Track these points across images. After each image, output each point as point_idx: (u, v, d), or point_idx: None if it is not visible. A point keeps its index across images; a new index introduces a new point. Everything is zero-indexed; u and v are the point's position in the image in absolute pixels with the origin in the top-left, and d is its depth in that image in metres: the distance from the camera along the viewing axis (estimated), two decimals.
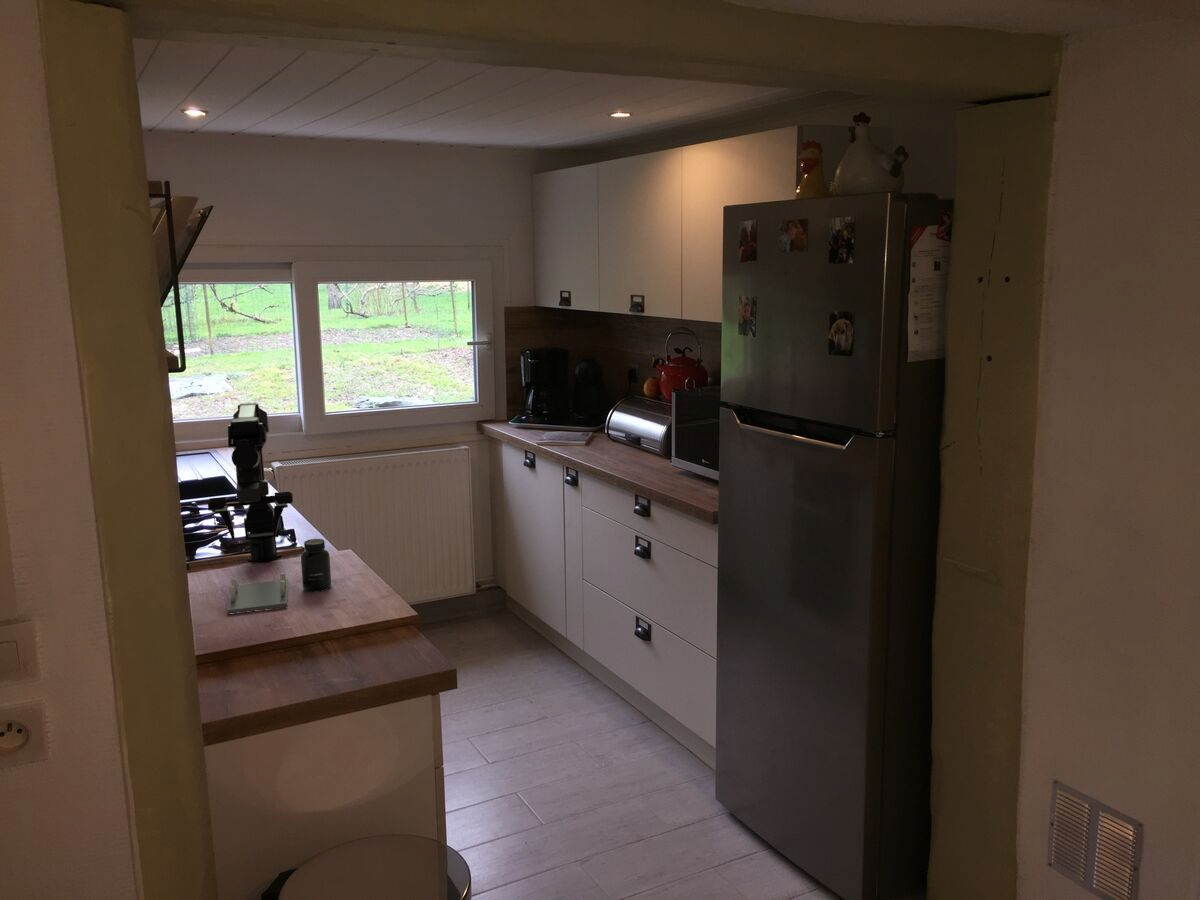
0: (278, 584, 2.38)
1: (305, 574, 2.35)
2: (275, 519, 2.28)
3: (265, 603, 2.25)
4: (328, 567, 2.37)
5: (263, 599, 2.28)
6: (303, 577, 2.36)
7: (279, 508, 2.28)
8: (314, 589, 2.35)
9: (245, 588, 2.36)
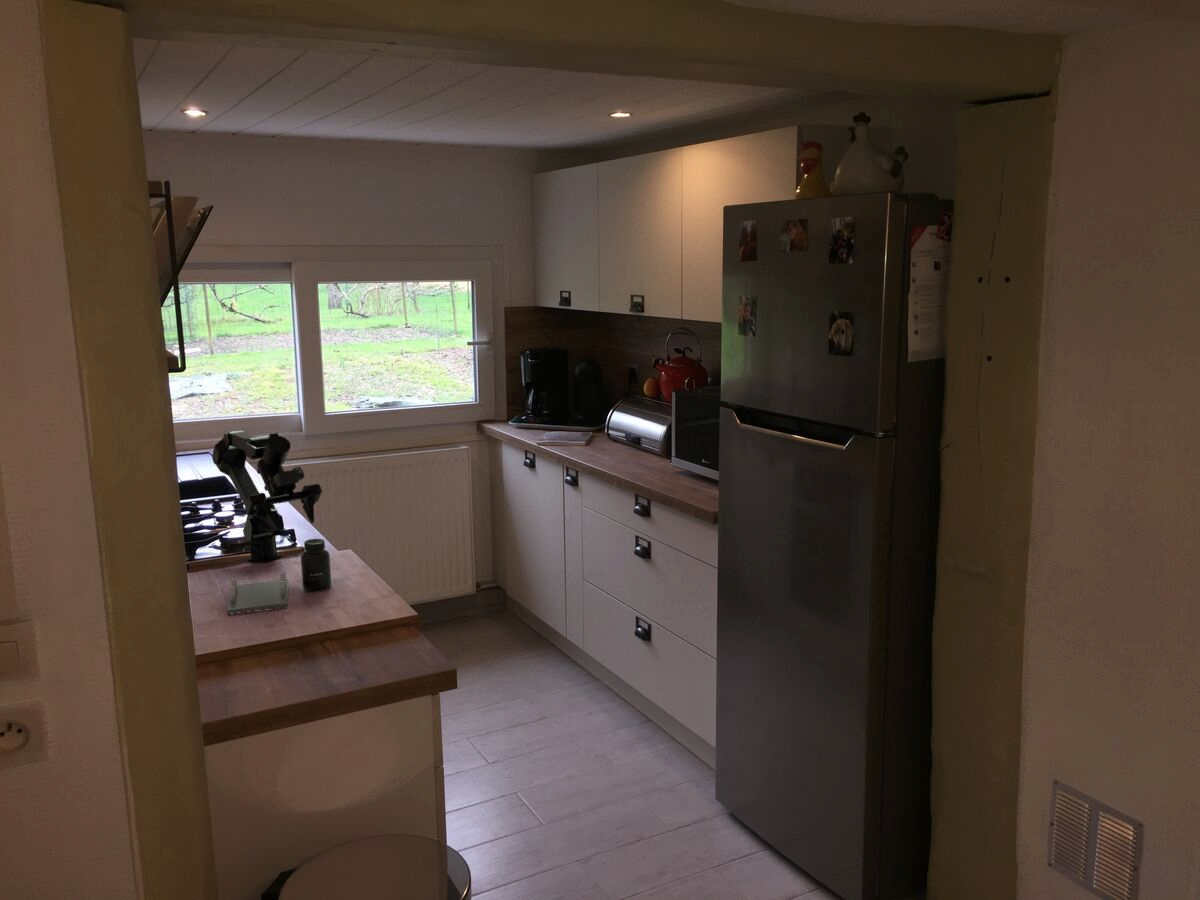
0: (278, 584, 2.38)
1: (305, 574, 2.35)
2: (310, 507, 2.48)
3: (265, 603, 2.25)
4: (328, 567, 2.37)
5: (263, 599, 2.28)
6: (303, 577, 2.36)
7: (312, 495, 2.48)
8: (314, 589, 2.35)
9: (245, 588, 2.36)
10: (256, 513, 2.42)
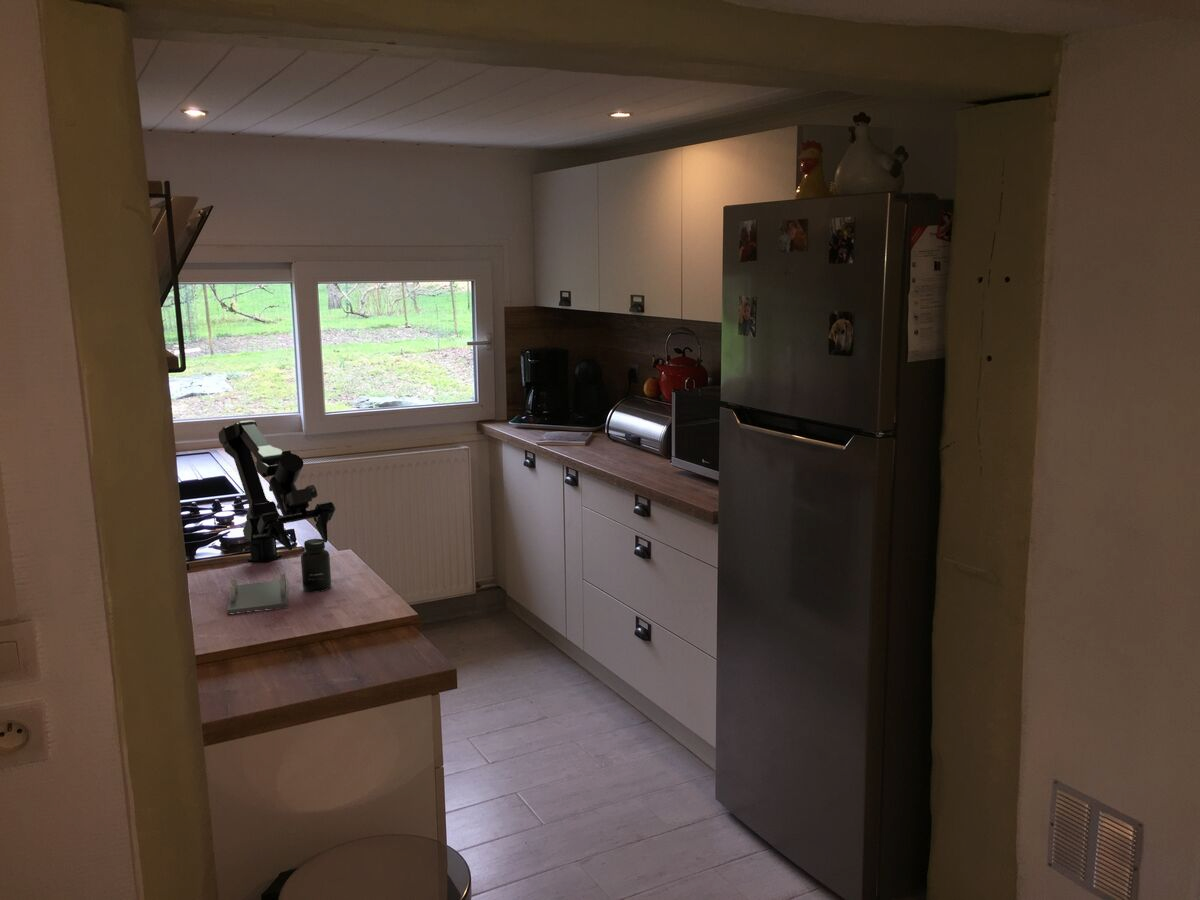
0: (278, 584, 2.38)
1: (305, 574, 2.35)
2: (323, 526, 2.43)
3: (265, 603, 2.25)
4: (328, 567, 2.37)
5: (263, 599, 2.28)
6: (303, 577, 2.36)
7: (325, 514, 2.44)
8: (314, 589, 2.35)
9: (245, 588, 2.36)
10: (269, 532, 2.38)
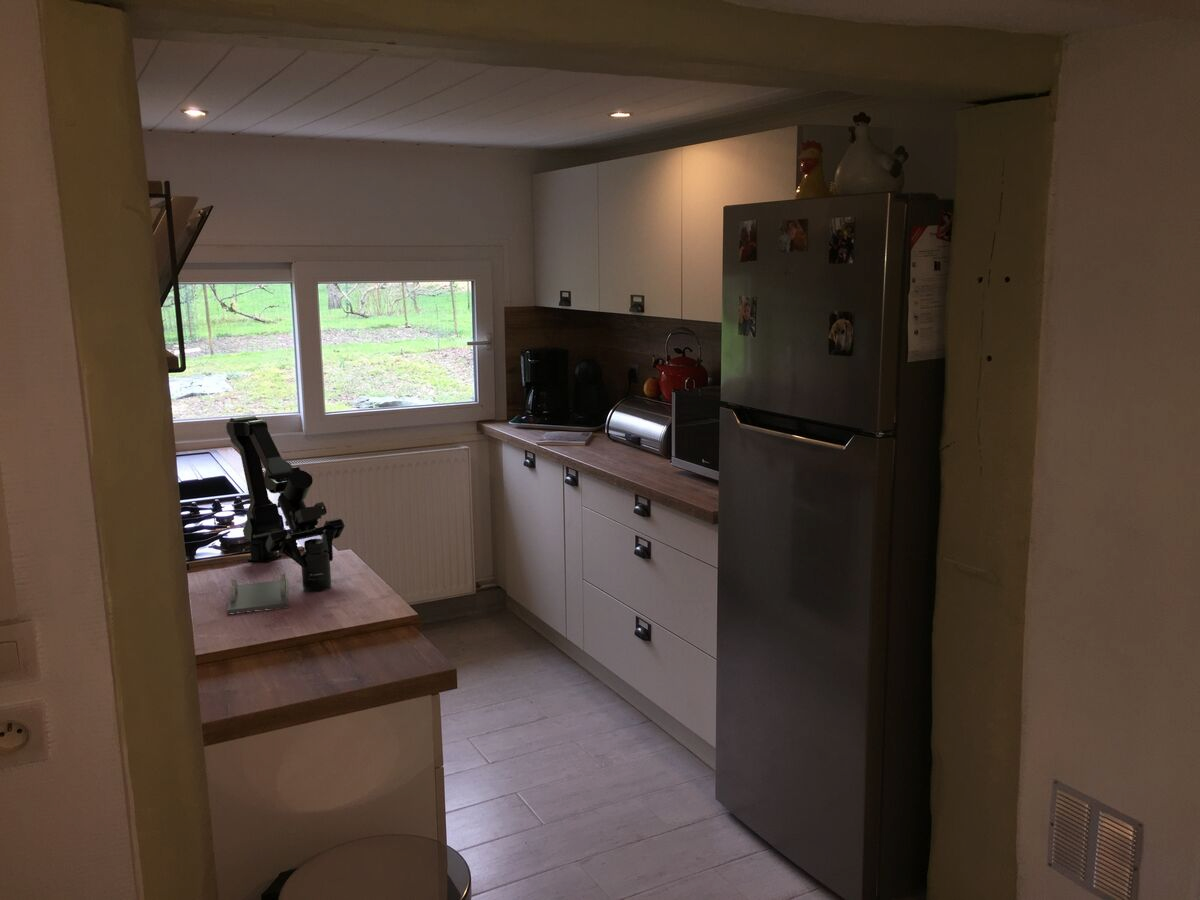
0: (278, 584, 2.38)
1: (305, 574, 2.35)
2: (329, 544, 2.40)
3: (265, 603, 2.25)
4: (328, 567, 2.37)
5: (263, 599, 2.28)
6: (303, 577, 2.36)
7: (331, 532, 2.41)
8: (314, 589, 2.35)
9: (245, 588, 2.36)
10: (282, 549, 2.36)
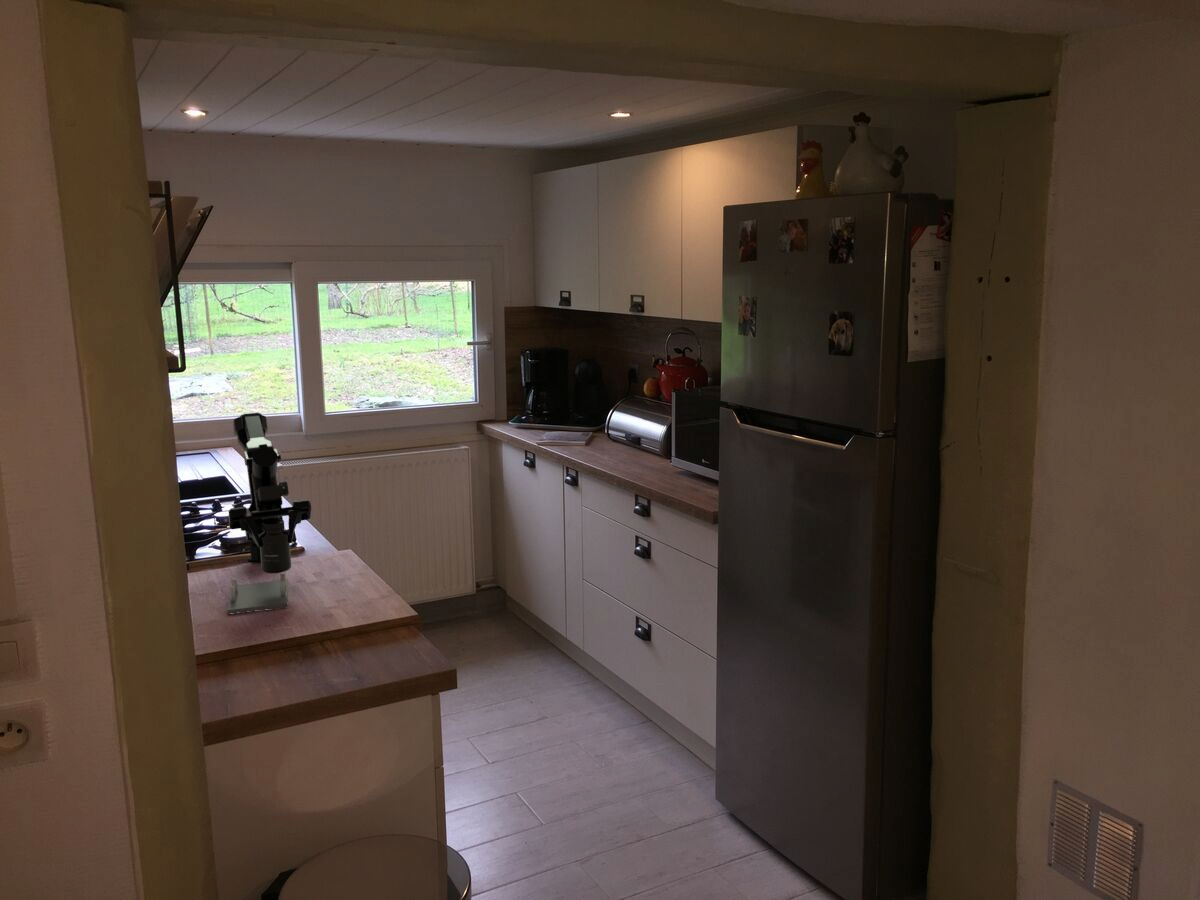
0: (278, 584, 2.38)
1: (261, 554, 2.29)
2: (290, 525, 2.32)
3: (265, 603, 2.25)
4: (285, 549, 2.30)
5: (263, 599, 2.28)
6: (261, 557, 2.30)
7: (294, 513, 2.33)
8: (269, 570, 2.29)
9: (245, 588, 2.36)
10: (242, 527, 2.31)
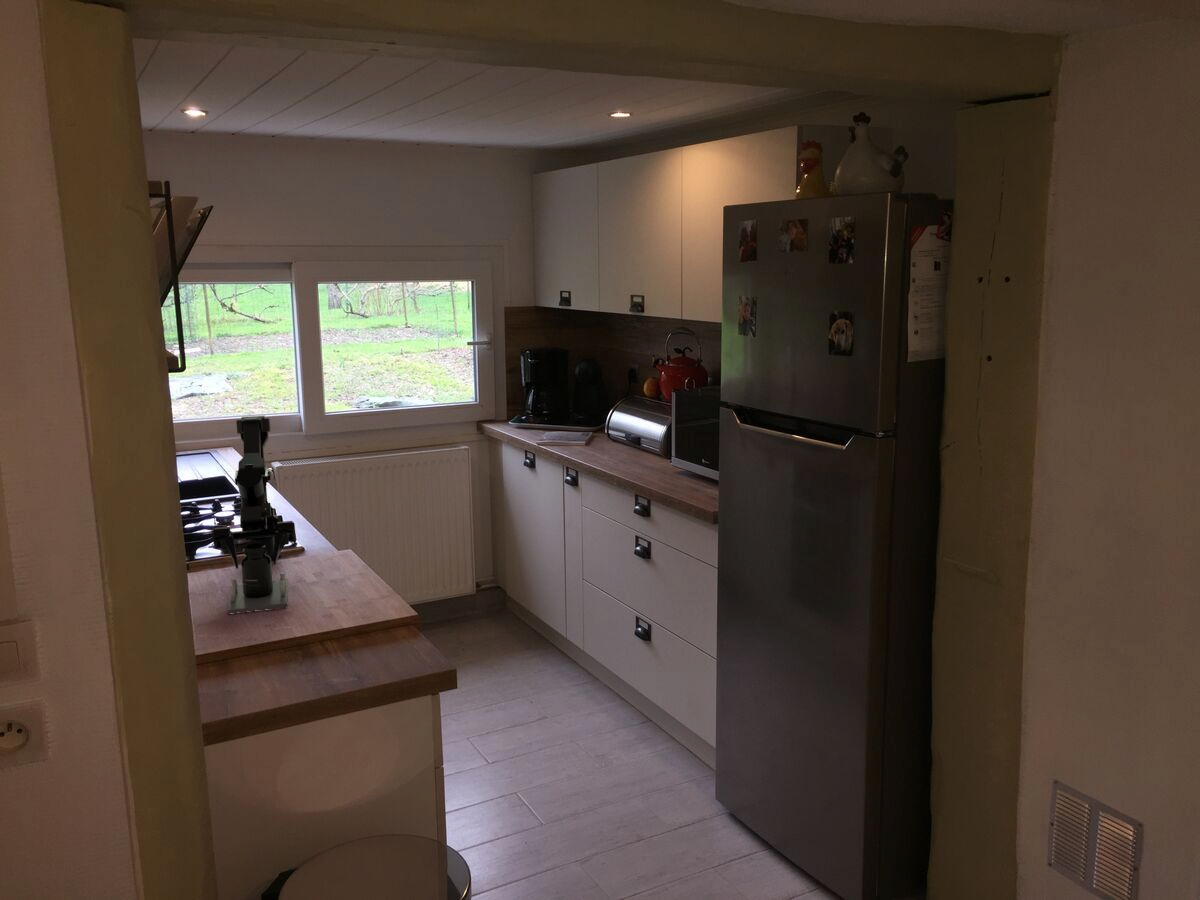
0: (278, 584, 2.38)
1: (242, 578, 2.29)
2: (275, 547, 2.31)
3: (265, 603, 2.25)
4: (265, 574, 2.29)
5: (263, 599, 2.28)
6: None
7: (279, 534, 2.32)
8: (249, 595, 2.29)
9: None
10: (223, 547, 2.31)
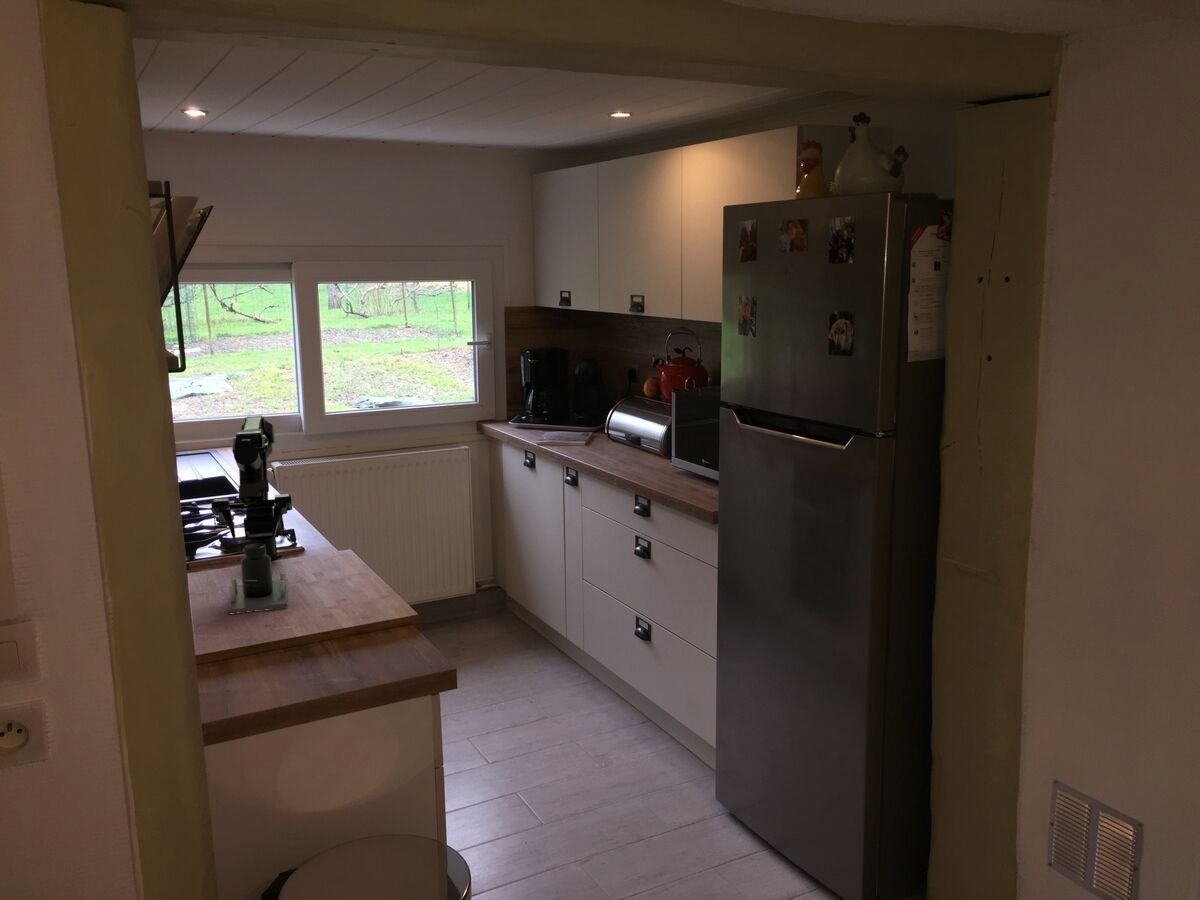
0: (278, 584, 2.38)
1: (242, 578, 2.29)
2: (274, 520, 2.41)
3: (265, 603, 2.25)
4: (265, 574, 2.29)
5: (263, 599, 2.28)
6: None
7: (278, 508, 2.41)
8: (249, 595, 2.29)
9: None
10: (221, 516, 2.40)
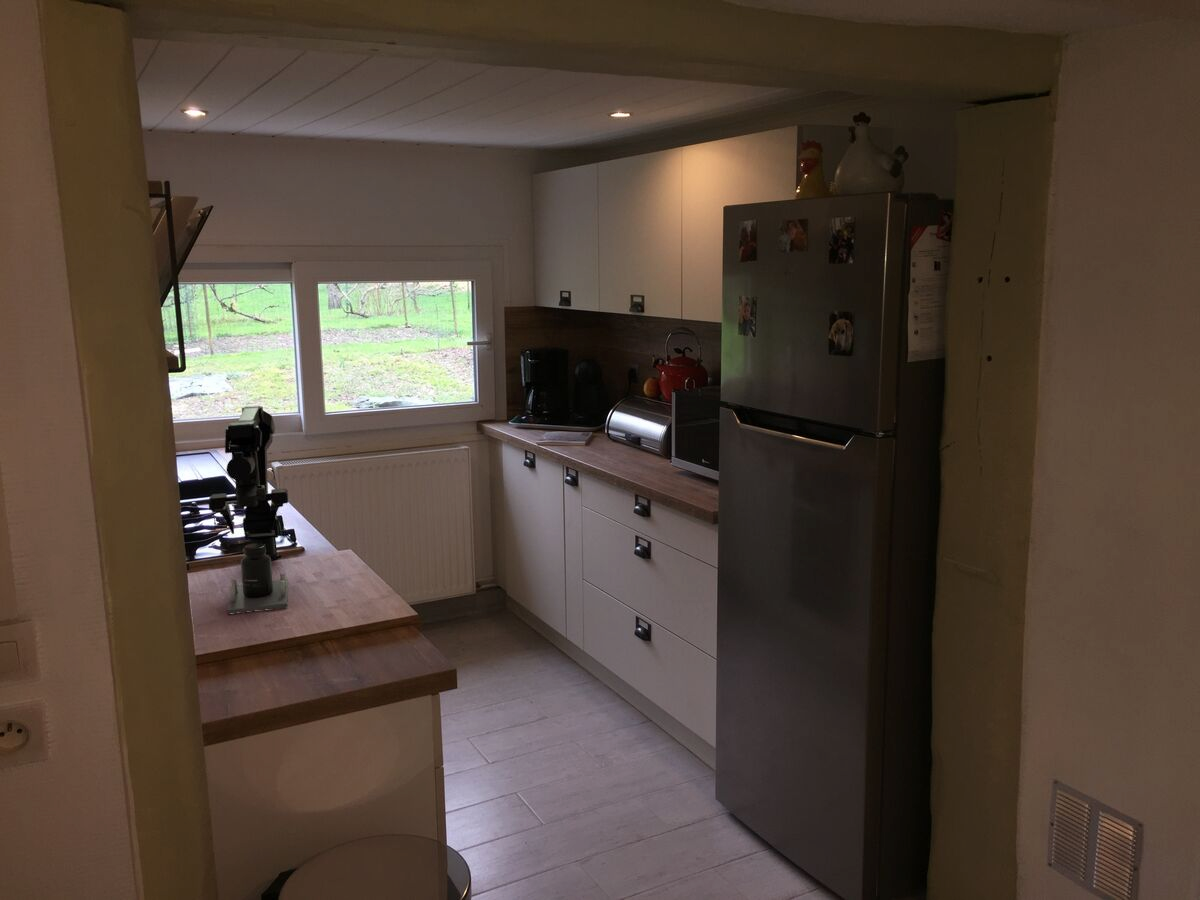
0: (278, 584, 2.38)
1: (242, 578, 2.29)
2: (272, 516, 2.45)
3: (265, 603, 2.25)
4: (265, 574, 2.29)
5: (263, 599, 2.28)
6: None
7: (275, 507, 2.44)
8: (249, 595, 2.29)
9: None
10: None
